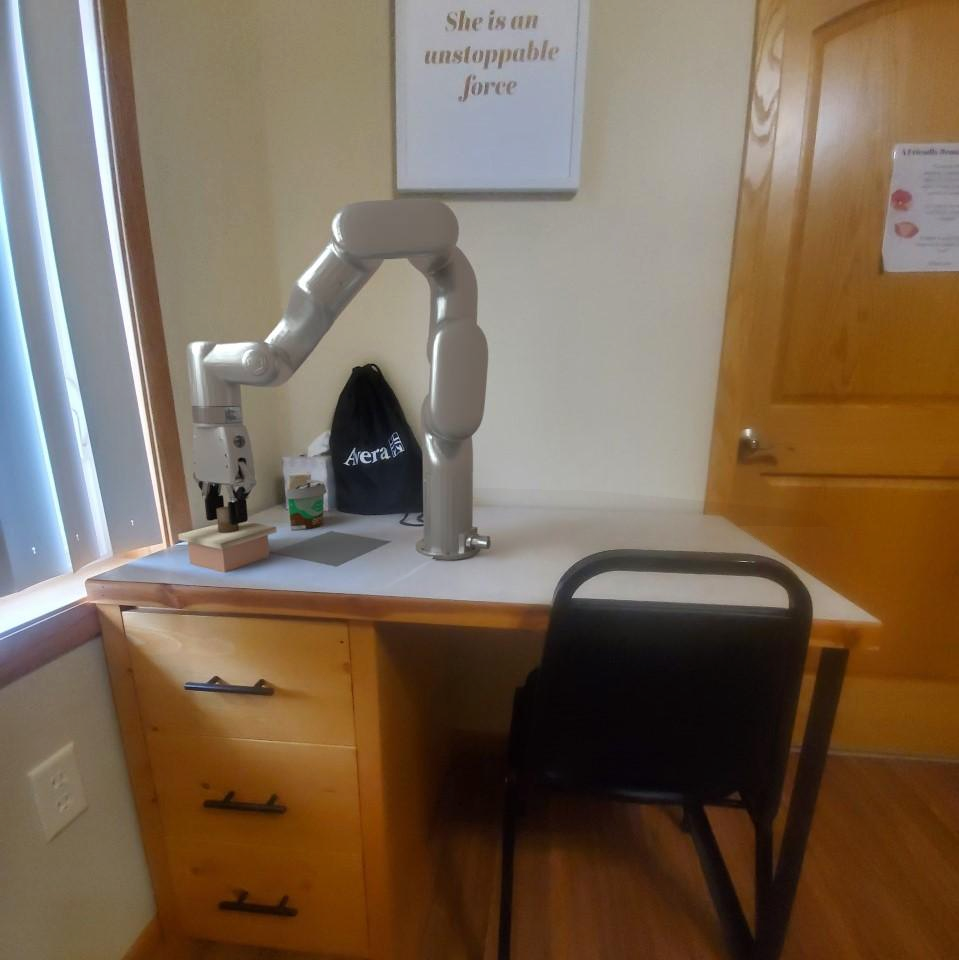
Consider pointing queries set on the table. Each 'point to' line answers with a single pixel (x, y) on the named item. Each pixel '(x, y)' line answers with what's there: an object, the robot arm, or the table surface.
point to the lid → (226, 532)
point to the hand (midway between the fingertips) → (227, 519)
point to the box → (297, 480)
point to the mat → (331, 548)
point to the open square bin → (229, 554)
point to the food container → (306, 505)
